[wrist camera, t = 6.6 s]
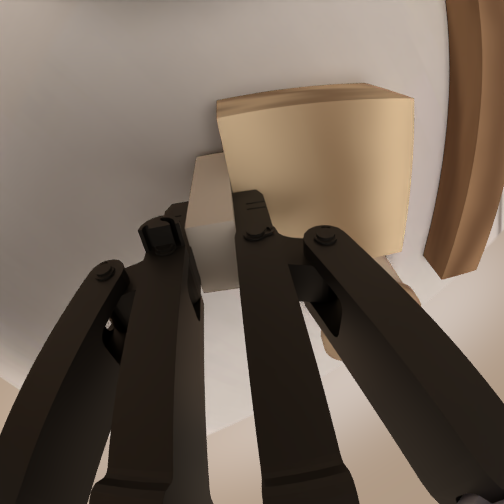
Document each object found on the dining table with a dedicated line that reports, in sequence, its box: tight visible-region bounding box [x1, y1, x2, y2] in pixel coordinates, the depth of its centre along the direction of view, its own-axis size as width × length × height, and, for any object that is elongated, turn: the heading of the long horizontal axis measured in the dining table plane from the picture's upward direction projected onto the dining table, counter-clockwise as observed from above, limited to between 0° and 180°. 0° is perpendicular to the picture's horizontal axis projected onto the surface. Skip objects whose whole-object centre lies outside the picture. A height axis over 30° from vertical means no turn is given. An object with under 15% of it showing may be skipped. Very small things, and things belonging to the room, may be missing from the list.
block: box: [217, 83, 414, 258], centre depth 14 cm, size 8×8×5 cm
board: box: [423, 0, 504, 280], centre depth 14 cm, size 4×22×3 cm, turn 6°
